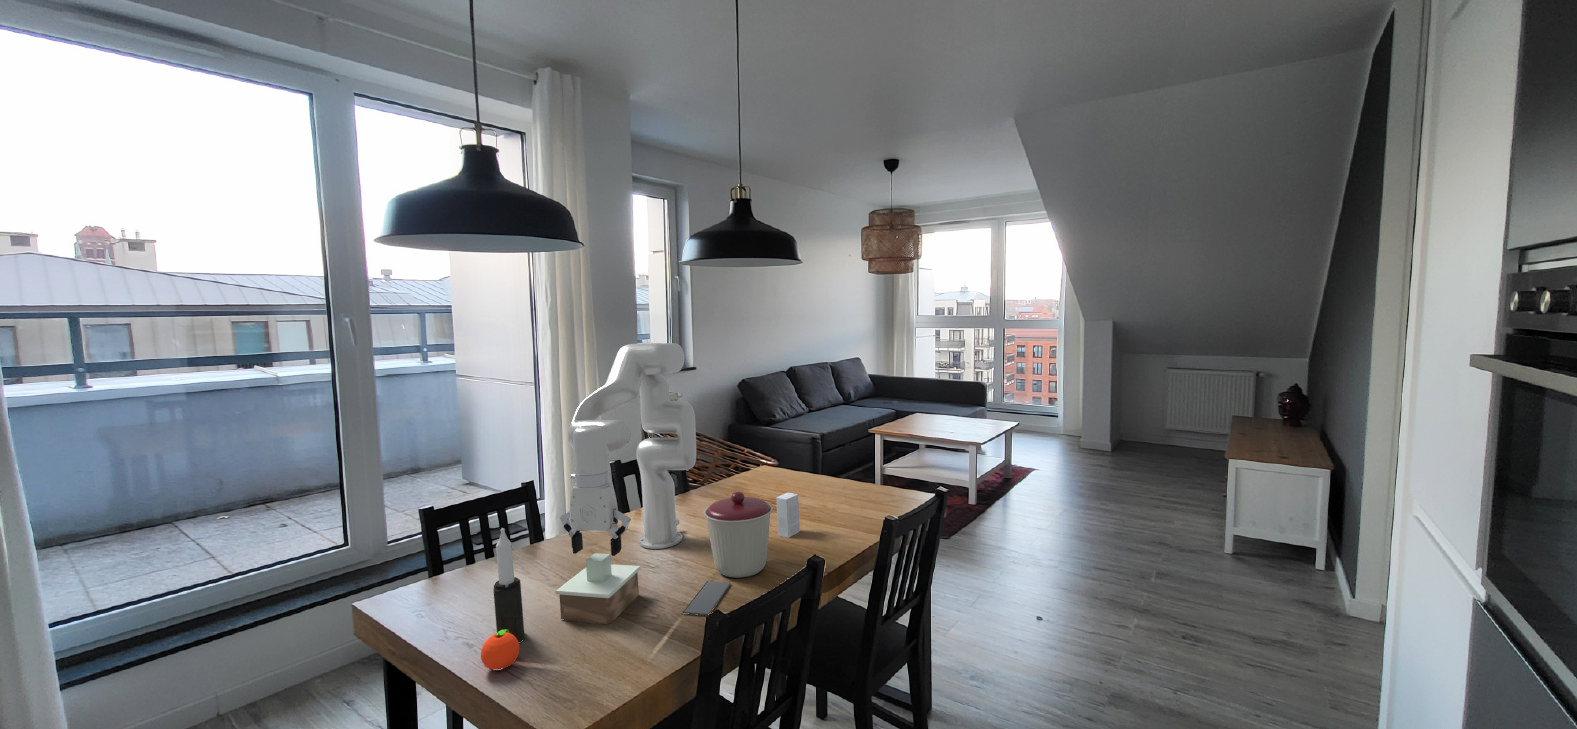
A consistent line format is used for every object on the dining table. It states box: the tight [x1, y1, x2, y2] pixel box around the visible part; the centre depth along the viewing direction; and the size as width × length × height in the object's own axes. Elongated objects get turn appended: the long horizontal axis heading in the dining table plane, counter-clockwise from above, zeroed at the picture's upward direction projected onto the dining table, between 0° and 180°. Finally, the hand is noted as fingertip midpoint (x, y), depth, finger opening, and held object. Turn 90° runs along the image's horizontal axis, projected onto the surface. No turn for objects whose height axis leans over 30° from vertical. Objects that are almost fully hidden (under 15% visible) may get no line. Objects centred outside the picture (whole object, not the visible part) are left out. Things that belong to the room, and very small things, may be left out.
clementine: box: [480, 629, 520, 670], centre depth 121 cm, size 8×7×7 cm
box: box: [558, 571, 640, 625], centre depth 142 cm, size 14×12×7 cm
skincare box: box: [776, 491, 801, 539], centre depth 186 cm, size 6×4×12 cm
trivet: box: [682, 580, 731, 617], centre depth 147 cm, size 16×16×1 cm
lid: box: [555, 552, 641, 598], centre depth 142 cm, size 15×13×7 cm
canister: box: [703, 491, 774, 579], centre depth 161 cm, size 18×18×21 cm
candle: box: [492, 527, 525, 643], centre depth 129 cm, size 5×5×25 cm
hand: (596, 552), depth 141 cm, fingers open, 9 cm apart
